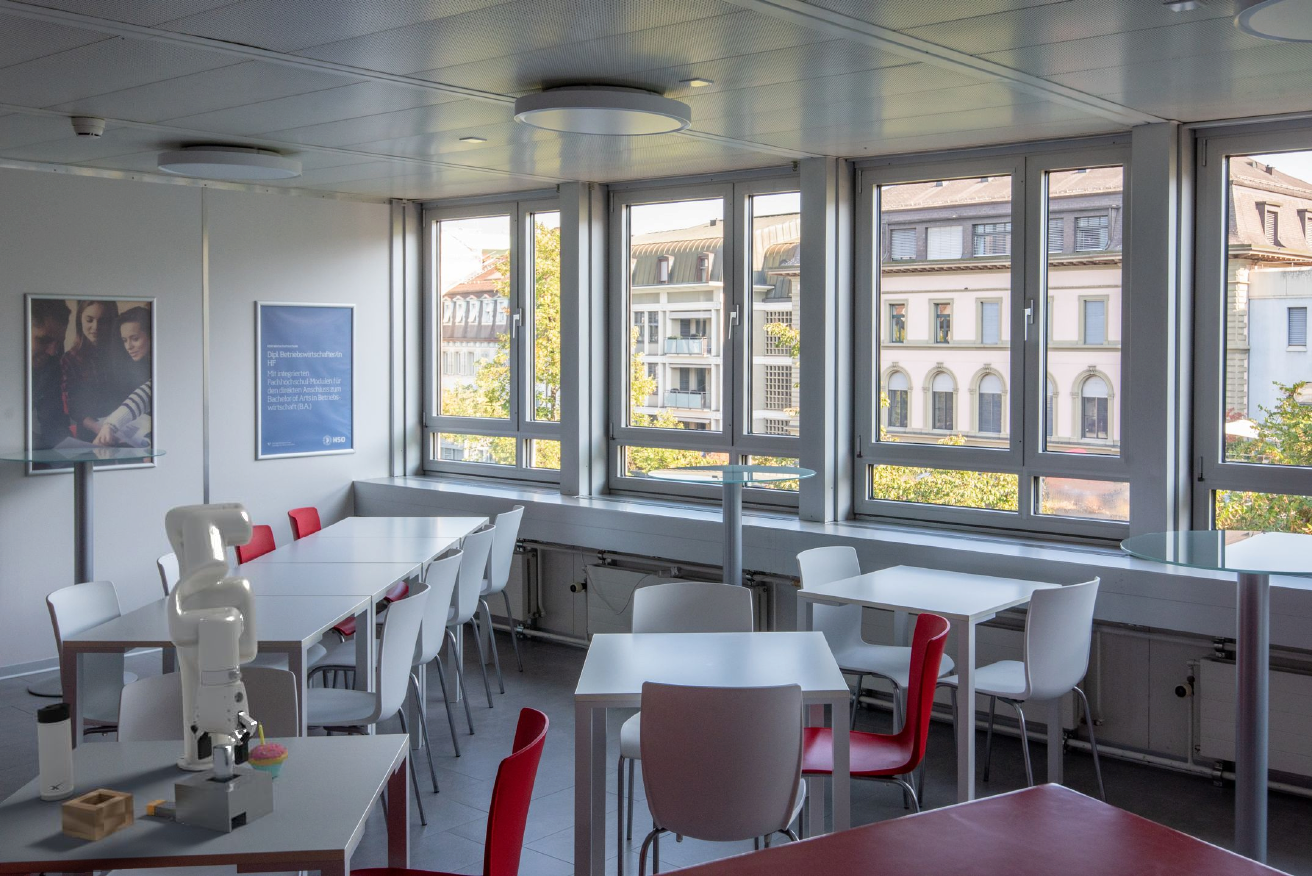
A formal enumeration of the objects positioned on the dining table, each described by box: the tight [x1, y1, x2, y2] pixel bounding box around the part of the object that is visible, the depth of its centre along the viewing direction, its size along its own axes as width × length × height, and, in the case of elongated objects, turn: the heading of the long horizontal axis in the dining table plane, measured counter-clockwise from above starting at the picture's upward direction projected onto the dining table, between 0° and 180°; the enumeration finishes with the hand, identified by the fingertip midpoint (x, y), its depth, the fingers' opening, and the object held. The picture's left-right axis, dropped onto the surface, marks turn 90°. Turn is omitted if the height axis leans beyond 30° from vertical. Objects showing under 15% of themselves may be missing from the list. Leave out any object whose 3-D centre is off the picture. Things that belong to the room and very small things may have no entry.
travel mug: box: [36, 702, 75, 802], centre depth 239 cm, size 6×7×20 cm
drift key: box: [146, 798, 176, 820], centre depth 226 cm, size 3×16×2 cm, turn 67°
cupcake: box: [247, 721, 289, 779], centre depth 250 cm, size 9×8×12 cm
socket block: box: [174, 765, 274, 833], centre depth 226 cm, size 12×14×8 cm
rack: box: [61, 788, 135, 842], centre depth 221 cm, size 9×9×6 cm
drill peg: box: [213, 744, 234, 783], centre depth 226 cm, size 4×4×11 cm
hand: (223, 760), depth 225 cm, fingers open, 9 cm apart
